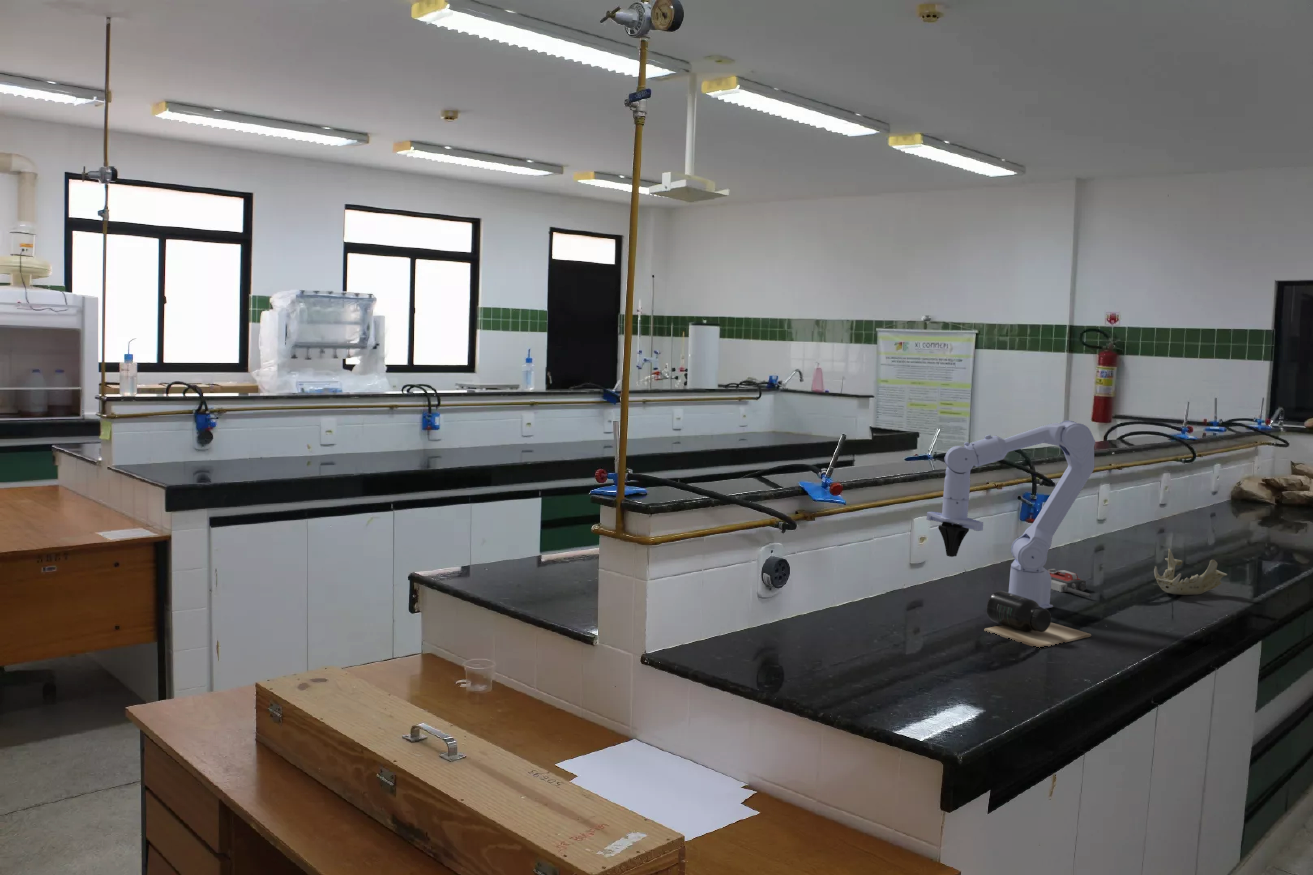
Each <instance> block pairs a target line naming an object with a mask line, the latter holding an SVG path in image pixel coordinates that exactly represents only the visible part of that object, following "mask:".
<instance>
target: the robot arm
mask: <svg viewBox="0 0 1313 875" xmlns="http://www.w3.org/2000/svg"><path fill="white" fill-rule="evenodd" d="M1040 444H1048V445H1051V446H1052V445H1053V446H1058V447H1059V448H1060V449H1061V451H1062V452H1063V454H1064V457H1065V460H1066V463H1067V468H1066V469H1065V470H1064V472H1063V474H1062V476H1061V477H1060V478H1059V480H1058V482H1057V483H1056V486H1055V487H1054V488H1053V490H1052V492H1051V493H1050V495H1049V497H1048V498H1047V500H1046V501H1045V503H1044V505H1043V506H1042V508H1041V510H1040V511H1039V513H1038V515H1037V516H1036V518H1035V519H1034V521H1033V522H1032V524H1031V525H1030V526H1028V527H1027V528H1026V529H1025V530H1024V532H1023V533H1022V535H1021V536H1020V535H1019V537H1017V538H1015V539H1014V540H1013V541H1012V543H1011V548H1010V552H1011V556H1012V557H1013V558H1014V560H1013V561H1012V562H1011V563H1010V572H1009V583H1008V584H1009V585H1008V593H1011V594H1015V595H1018V596H1021V597H1025V598H1028V599H1031V600H1034V601H1036V602H1037V603H1038V605H1039V606H1040V607H1042V608H1044V609H1050V608H1053V607H1054V605H1053V604H1051V603H1050V602H1051V593H1052V592H1051V590H1052V589H1051V583H1052V580H1051V576H1050V573H1049V572H1048V571H1047V570H1048V569H1046V568H1045V567H1044V566H1045V565H1046V563H1047V560H1048V552H1049V550H1050V548H1052V541H1053V537H1054V536H1055V533H1056V531H1057V530H1058V529H1059V526H1060V525H1061V523H1062V522H1063V520H1064V519H1065V517H1066V515H1067V514H1068V512H1069V510H1070V509H1071V508H1072V505H1073V504H1074V503H1075V501H1076V500H1077V497H1078V496H1079V495H1080V493H1081V491H1082V490H1083V488H1084V486H1085V485H1086V483H1088V482H1087V481H1088V480H1089V478H1090V477H1091V475H1092V474H1093V472H1094V470H1095V446H1096V440H1095V437H1094V436H1093V434H1092V431H1091V429H1090V428H1089V427H1088V426H1087V425H1086V424H1084V423H1081V422H1077V421H1073V420H1063V421H1061V422H1053V423H1052V422H1051V423H1048V424H1045V425H1044V424H1043V425H1041V426H1038V427H1035V428H1031V429H1029V430H1026V431H1022V432H1019V433H1017V434H1014V435H1011V436H1008V437H1005V438H1002V437H1000V436H997V435H991V434H987V435H984V438H982V439H979V440H975V441H972V442H970V443H969V441H965V442H963V445H964V446H962V445H954V446H952V447H951V448H949V449H948V450H947V451H946V453H945V456H944V458H943V459H944V463H945V465H946V468H945V477H944V481H943V482H944V484H943V485H944V486H943V494H942V509H941V512H937V511H927V512H926V521H930V522H931V521H933V522H938V523H941V525H940V524H939V525H938V527H937V528H938V530H939V532H940V534H941V537H942V540H943V544H944V549H945V554H946V556H947V557H951V558H953V557H957V555H958V552H959V550H960V547H961V544H962V542H963V540H964V538H965V537H966V536H967V534H968V533H969V531H970V530H973V531H976V532H981V531H983V530H984V521H980V520H976V519H973V518H970V517H969V503H970V502H969V501H970V493H971V492H970V491H971V490H970V489H971V479H970V478H971V470H972V469H973V467H975V468H977V467H978V468H979V467H981V466H985V465H989V464H991V463H995V462H999V461H1002V460H1005V458H1006V456H1007V454H1008V453H1009V452H1013V451H1017V450H1021V449H1026V448H1029V447H1032V446H1037V445H1040Z"/></svg>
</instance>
